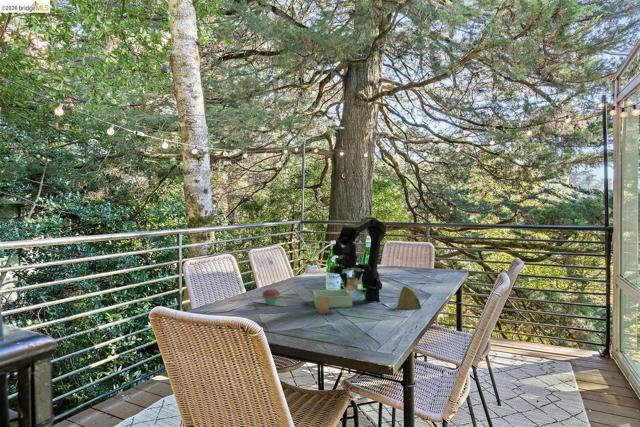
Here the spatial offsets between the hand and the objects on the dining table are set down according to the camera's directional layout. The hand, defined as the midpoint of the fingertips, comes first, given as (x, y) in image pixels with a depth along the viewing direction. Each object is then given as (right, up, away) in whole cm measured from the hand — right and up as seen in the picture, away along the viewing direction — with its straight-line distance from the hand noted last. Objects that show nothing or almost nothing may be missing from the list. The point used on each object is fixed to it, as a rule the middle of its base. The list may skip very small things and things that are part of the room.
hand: (350, 286), depth 190 cm
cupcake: (-38, -11, +12) cm, 42 cm away
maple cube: (0, -1, 0) cm, 1 cm away
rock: (+28, -11, +2) cm, 30 cm away
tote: (-8, -10, +11) cm, 17 cm away
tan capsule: (-13, -11, -4) cm, 17 cm away
